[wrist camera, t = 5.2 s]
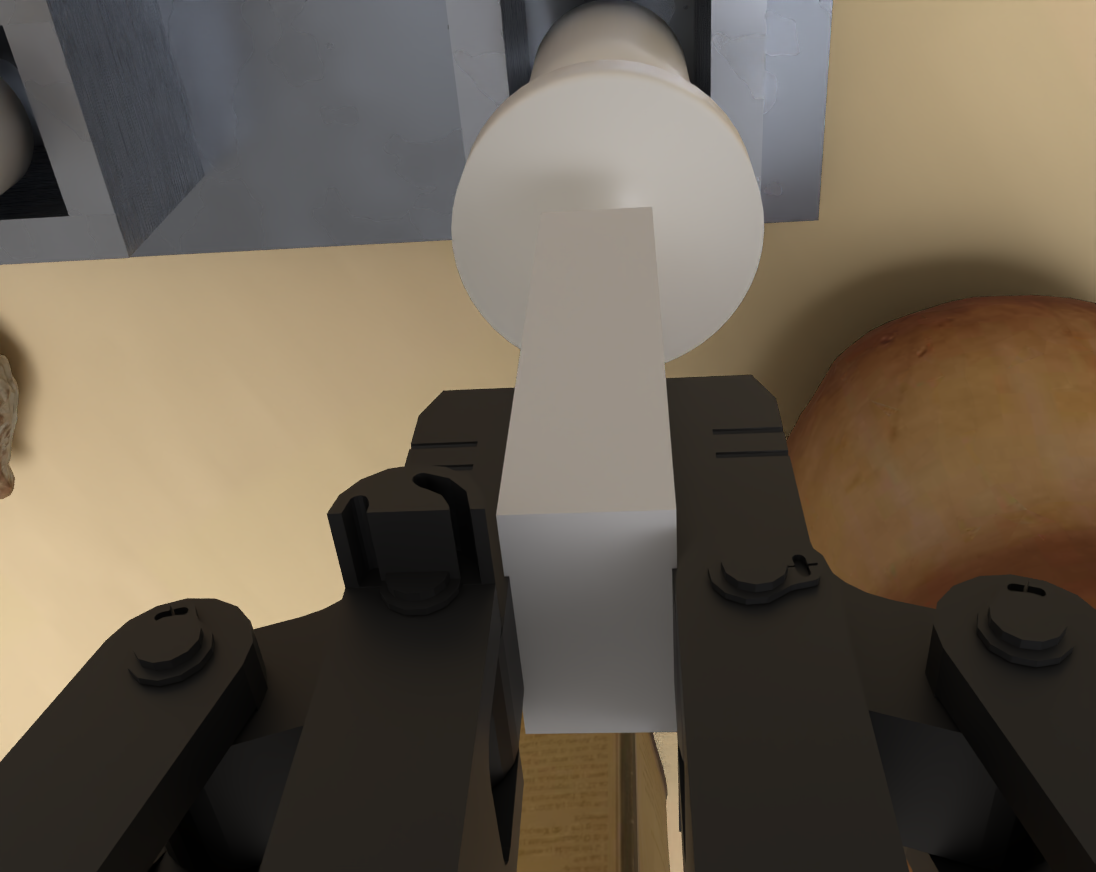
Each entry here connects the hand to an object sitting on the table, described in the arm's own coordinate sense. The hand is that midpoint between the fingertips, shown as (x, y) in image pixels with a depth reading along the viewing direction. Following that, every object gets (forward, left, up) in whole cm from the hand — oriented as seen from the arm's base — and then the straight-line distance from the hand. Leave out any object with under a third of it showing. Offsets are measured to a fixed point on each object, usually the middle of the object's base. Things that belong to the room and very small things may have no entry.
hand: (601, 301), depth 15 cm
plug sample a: (0, 0, -12) cm, 12 cm away
